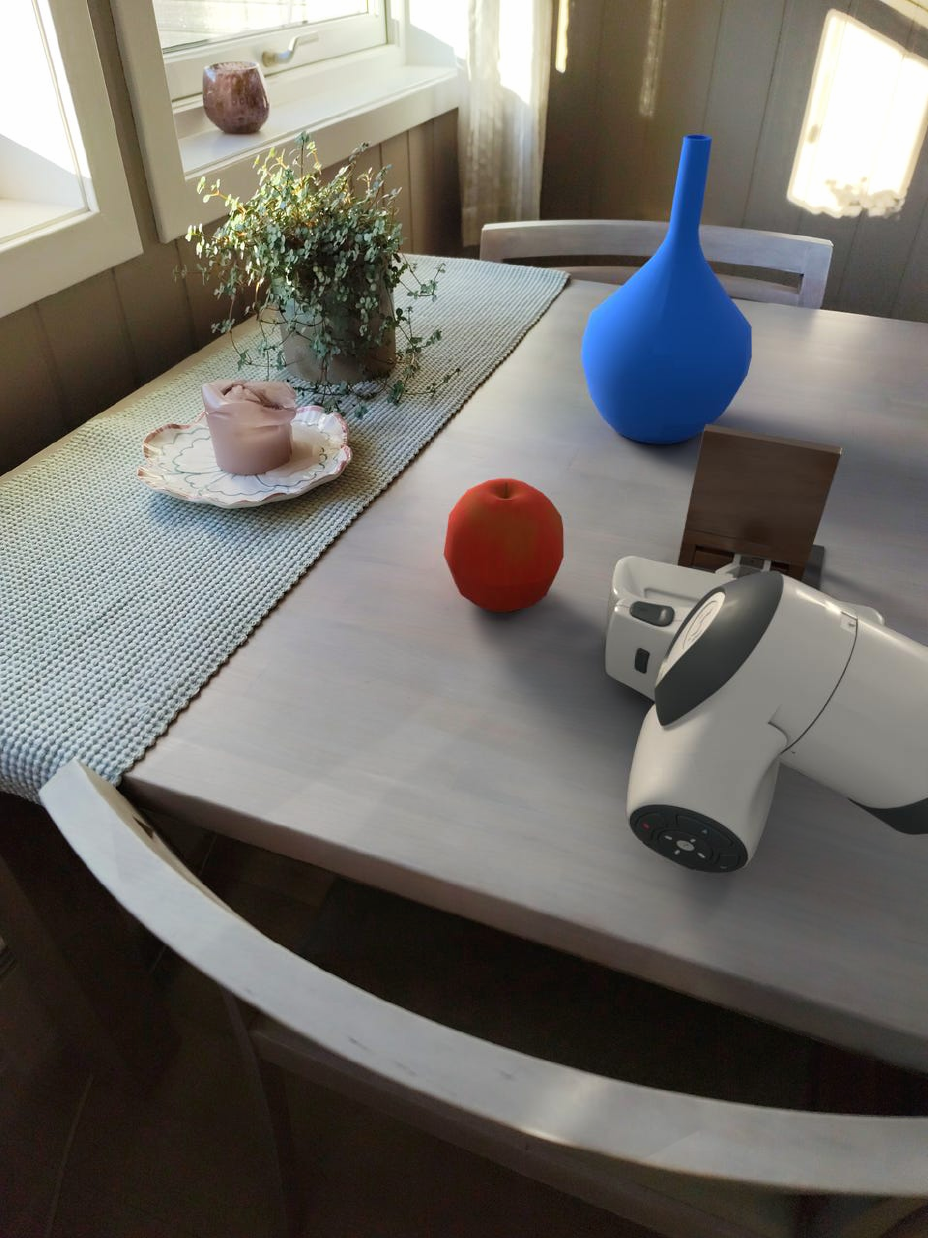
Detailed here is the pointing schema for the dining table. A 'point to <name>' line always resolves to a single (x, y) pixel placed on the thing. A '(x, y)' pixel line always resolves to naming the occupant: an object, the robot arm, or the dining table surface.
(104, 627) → the dining table surface
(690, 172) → the vase
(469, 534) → the apple
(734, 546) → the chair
